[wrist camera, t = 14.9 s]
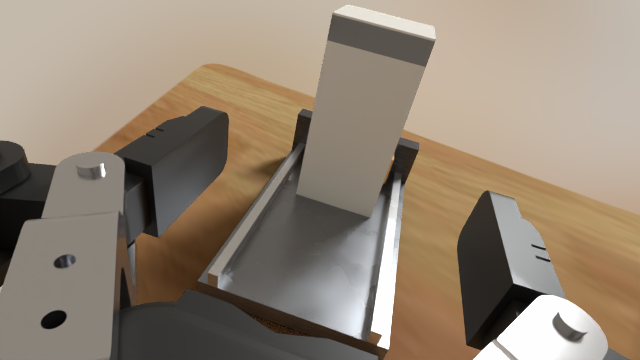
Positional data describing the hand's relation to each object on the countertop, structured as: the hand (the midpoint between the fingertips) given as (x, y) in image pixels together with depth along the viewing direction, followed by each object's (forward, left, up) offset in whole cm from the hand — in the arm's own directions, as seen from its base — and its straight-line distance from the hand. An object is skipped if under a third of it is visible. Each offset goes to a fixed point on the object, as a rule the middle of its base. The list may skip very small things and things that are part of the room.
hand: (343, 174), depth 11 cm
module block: (+1, -11, -8) cm, 14 cm away
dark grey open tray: (+1, -8, -9) cm, 12 cm away
